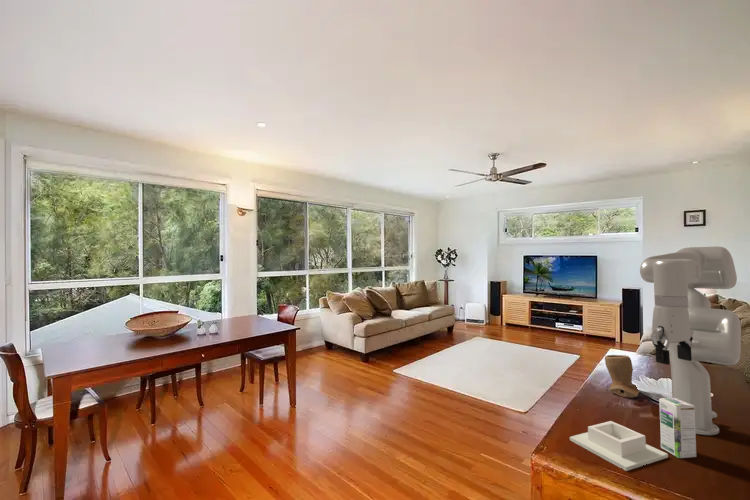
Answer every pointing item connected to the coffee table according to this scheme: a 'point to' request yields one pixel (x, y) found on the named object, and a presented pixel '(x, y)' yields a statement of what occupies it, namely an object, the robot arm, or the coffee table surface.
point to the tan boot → (621, 375)
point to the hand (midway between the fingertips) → (673, 361)
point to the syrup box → (677, 427)
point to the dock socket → (618, 445)
